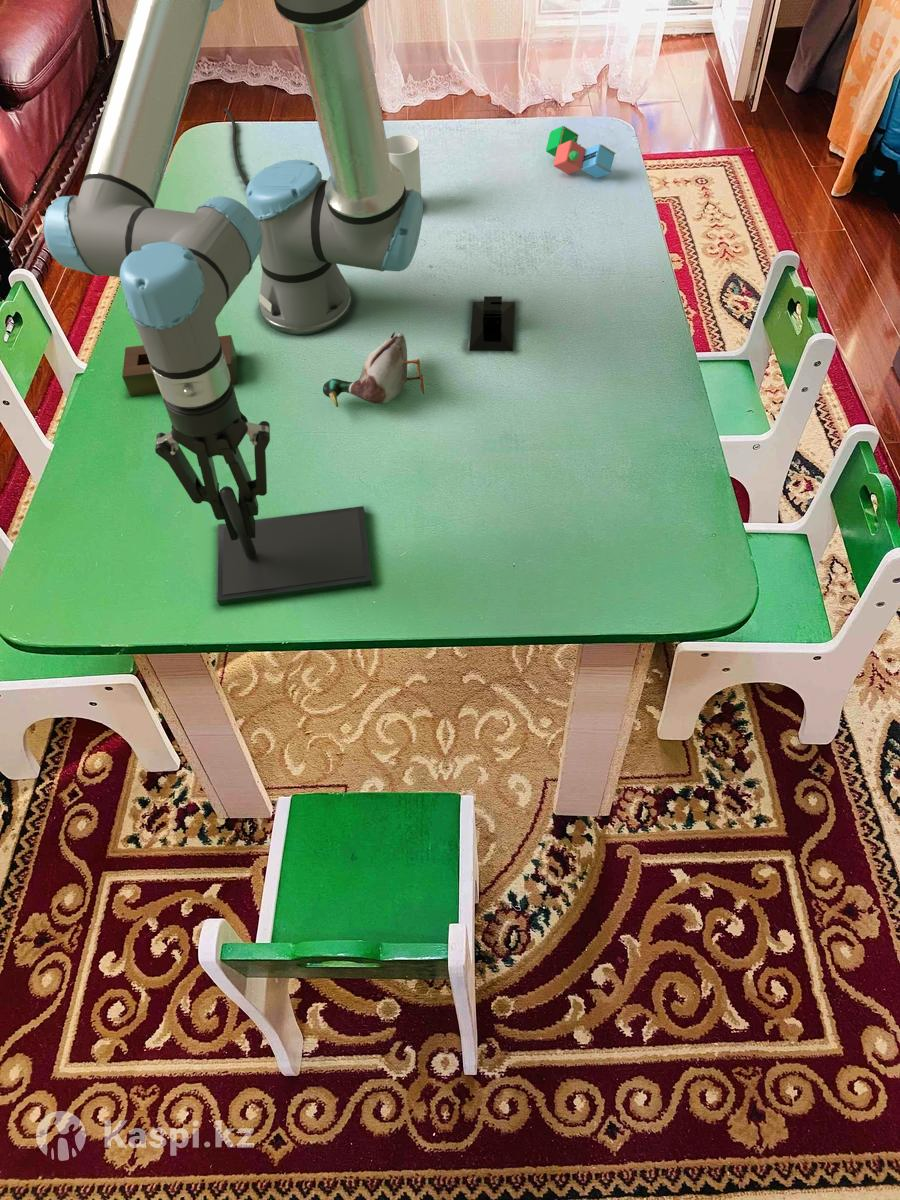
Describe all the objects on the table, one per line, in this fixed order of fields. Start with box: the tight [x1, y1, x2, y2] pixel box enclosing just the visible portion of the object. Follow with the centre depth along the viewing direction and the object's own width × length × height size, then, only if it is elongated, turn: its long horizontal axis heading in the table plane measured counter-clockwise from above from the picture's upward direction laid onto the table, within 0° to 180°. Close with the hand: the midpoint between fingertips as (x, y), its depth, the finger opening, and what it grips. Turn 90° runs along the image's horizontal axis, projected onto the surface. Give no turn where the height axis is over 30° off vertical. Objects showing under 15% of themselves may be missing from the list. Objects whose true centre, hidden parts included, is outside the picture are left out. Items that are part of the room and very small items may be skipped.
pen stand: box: [121, 334, 238, 397], centre depth 144 cm, size 7×17×4 cm, turn 98°
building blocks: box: [545, 125, 617, 179], centre depth 174 cm, size 8×8×12 cm
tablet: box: [216, 505, 373, 606], centre depth 123 cm, size 13×20×1 cm, turn 98°
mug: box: [386, 134, 422, 195], centre depth 166 cm, size 10×7×12 cm, turn 109°
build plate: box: [467, 295, 516, 353], centre depth 148 cm, size 12×7×5 cm, turn 176°
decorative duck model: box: [322, 331, 425, 408], centre depth 140 cm, size 15×8×15 cm
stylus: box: [219, 486, 256, 559], centre depth 115 cm, size 2×2×16 cm
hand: (243, 530), depth 118 cm, fingers closed on stylus, 2 cm apart
